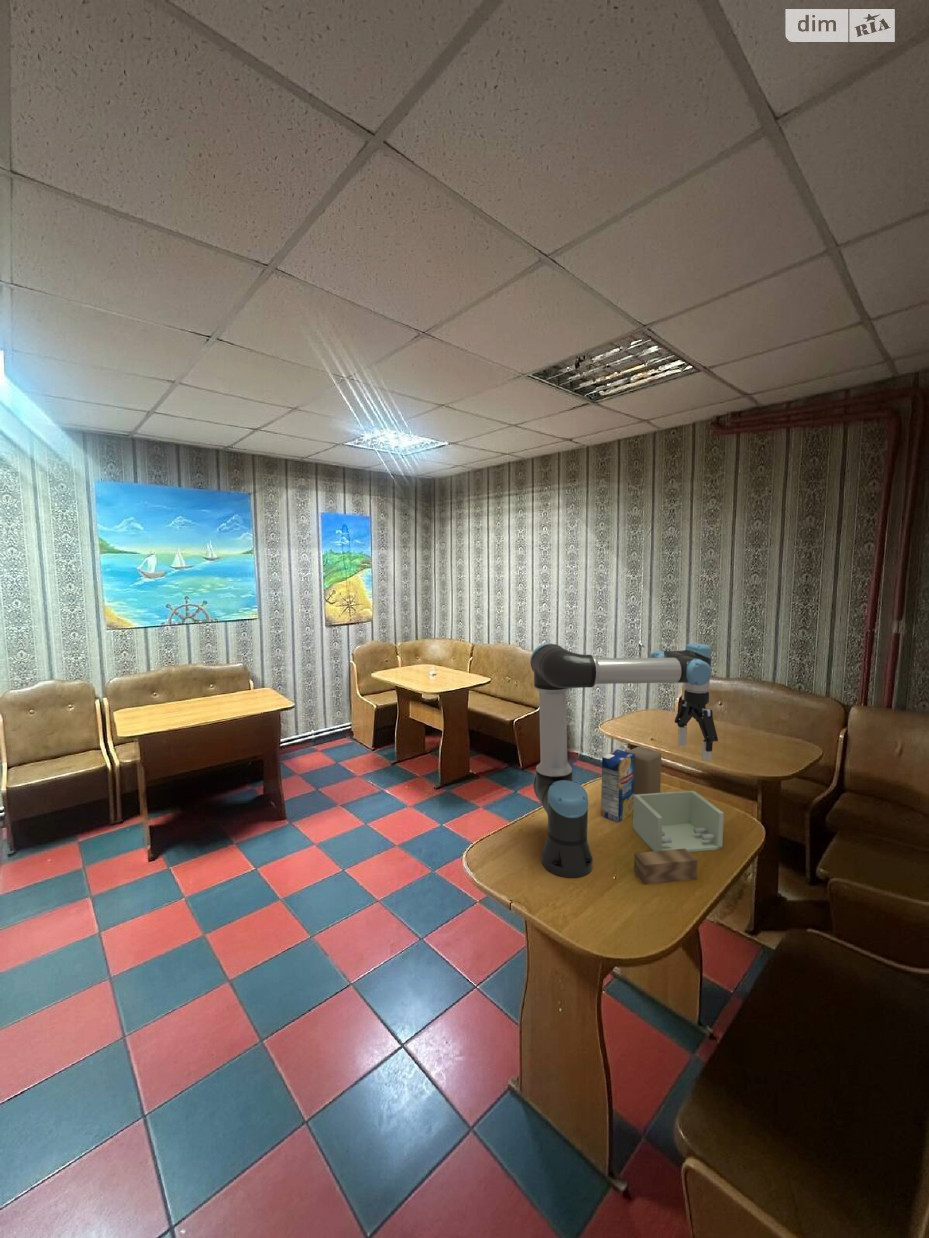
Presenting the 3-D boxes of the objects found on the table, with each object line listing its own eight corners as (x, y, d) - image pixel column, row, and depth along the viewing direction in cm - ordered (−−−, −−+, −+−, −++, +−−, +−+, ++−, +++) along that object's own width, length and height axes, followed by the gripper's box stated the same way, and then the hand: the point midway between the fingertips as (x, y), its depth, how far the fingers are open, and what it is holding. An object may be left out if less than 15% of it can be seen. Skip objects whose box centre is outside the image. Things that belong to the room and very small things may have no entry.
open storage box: (656, 854, 154) (658, 817, 153) (632, 828, 170) (633, 794, 168) (722, 849, 157) (723, 812, 156) (692, 823, 173) (693, 790, 171)
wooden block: (637, 794, 195) (638, 745, 193) (660, 803, 187) (662, 752, 185) (622, 802, 189) (624, 751, 187) (646, 811, 181) (648, 759, 179)
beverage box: (600, 816, 178) (602, 757, 176) (616, 805, 186) (617, 749, 183) (618, 823, 173) (619, 762, 171) (633, 812, 181) (635, 754, 179)
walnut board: (644, 885, 140) (644, 865, 139) (633, 872, 145) (634, 853, 145) (696, 879, 142) (697, 860, 141) (684, 867, 148) (685, 848, 147)
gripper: (732, 699, 152) (729, 766, 154) (685, 681, 176) (682, 739, 179) (710, 700, 151) (706, 767, 153) (665, 682, 175) (663, 740, 178)
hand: (693, 752), depth 166 cm, fingers open, 13 cm apart
